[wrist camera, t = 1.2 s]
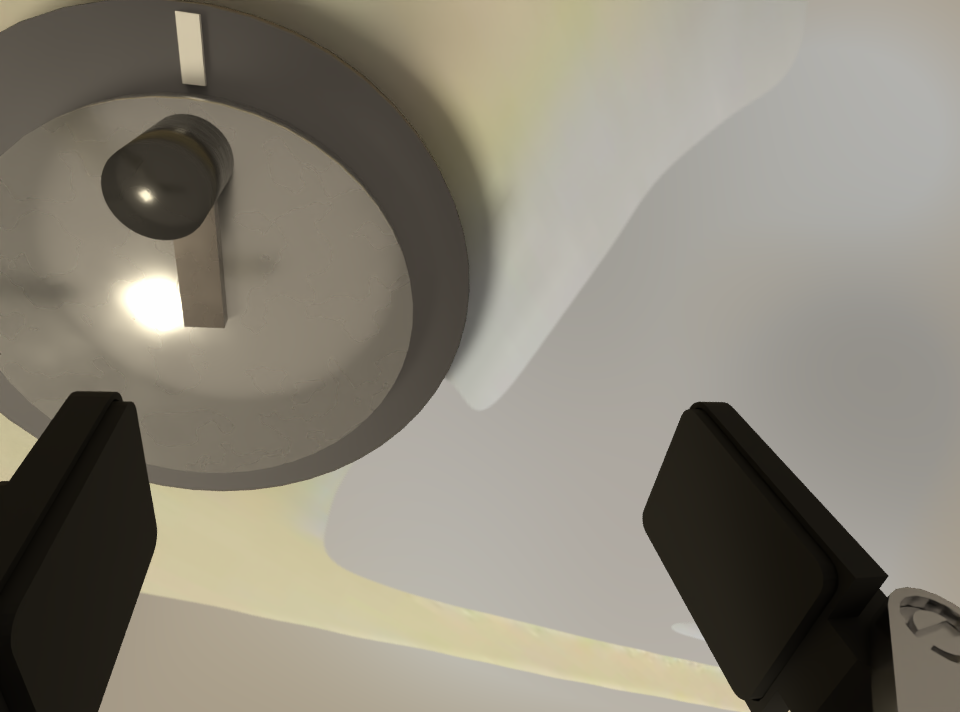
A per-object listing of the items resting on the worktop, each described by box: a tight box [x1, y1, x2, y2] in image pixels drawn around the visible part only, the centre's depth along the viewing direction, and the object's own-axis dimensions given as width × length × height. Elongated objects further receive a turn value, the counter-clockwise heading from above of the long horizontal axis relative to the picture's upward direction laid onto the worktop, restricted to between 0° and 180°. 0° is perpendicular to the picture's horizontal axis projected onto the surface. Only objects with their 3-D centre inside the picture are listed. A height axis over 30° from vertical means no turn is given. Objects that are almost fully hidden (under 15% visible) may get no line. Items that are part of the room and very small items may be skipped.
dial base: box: [0, 0, 469, 491], centre depth 28 cm, size 24×24×2 cm
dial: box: [0, 92, 413, 473], centre depth 24 cm, size 18×18×6 cm
